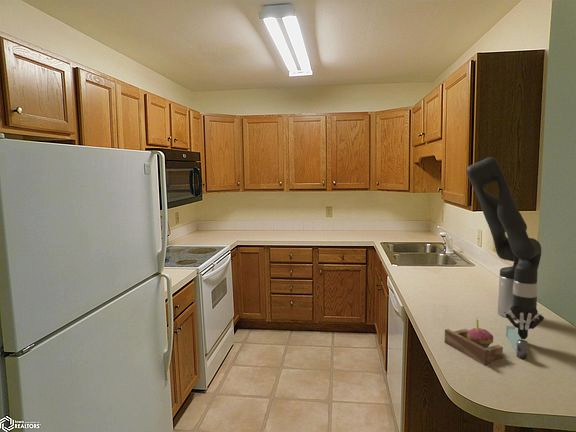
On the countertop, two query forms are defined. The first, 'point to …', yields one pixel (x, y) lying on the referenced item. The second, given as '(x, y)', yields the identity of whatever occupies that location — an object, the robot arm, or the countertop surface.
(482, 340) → the cupcake
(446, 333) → the wooden u-shaped bracket
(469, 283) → the countertop surface
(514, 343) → the bar
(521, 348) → the post
